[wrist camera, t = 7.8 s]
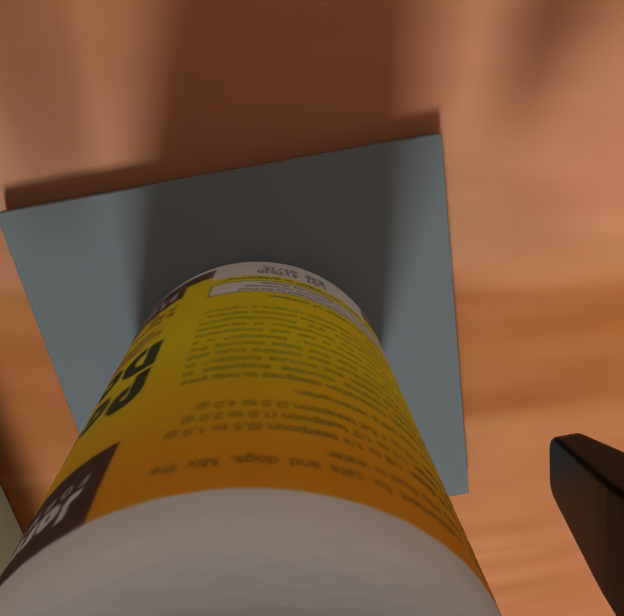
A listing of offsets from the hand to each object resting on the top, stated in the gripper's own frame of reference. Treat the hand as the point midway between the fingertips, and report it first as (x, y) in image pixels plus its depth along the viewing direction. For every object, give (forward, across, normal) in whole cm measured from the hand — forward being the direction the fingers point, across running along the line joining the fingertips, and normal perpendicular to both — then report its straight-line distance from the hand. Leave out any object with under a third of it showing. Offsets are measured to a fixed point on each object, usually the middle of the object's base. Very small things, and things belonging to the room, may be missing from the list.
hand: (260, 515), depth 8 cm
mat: (+5, 0, 0) cm, 5 cm away
